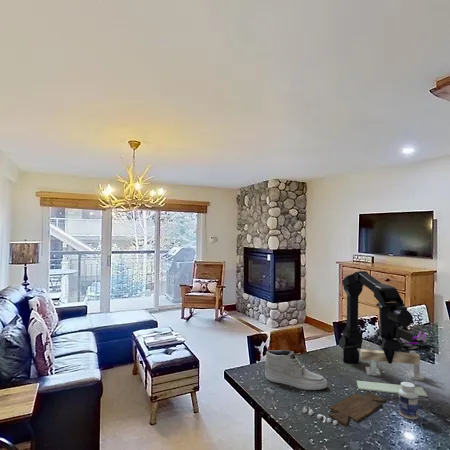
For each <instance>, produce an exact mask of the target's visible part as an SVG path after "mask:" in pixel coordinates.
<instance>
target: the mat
mask: <svg viewBox="0 0 450 450" xmlns="http://www.w3.org/2000/svg"><path fill="white" fill-rule="evenodd" d="M356 384H357V389H358V390H359V391H361V390H362V391H371V392H379V393H387V394H396V395H397V394H398V395H399V390H400V389H402V388H401V384H393V383H385V382H374V381H365V380H356ZM415 392H416V393H417V395H418V397H422V396H423V397H424V398H425V397H426V398H428V394H427V392H426V391H425V390H424V389H423V387H421V386H415Z"/></svg>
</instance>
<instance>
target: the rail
mask: <svg viewBox="0 0 450 450" xmlns="http://www.w3.org/2000/svg"><path fill="white" fill-rule="evenodd" d="M359 350H360V351H359V355H360V359H361V360H362V361H363V360H364V361H369V360H374V361H376V362H384V363H385V362H386V363H388V361H387V358H386V356H385V353H384V351H383V350H379V349H378V350H377V349H374V350H369V349H366V348H365V349H364V348H359ZM392 363H399V364H407V365H408V364H409V365H410V364H419V366H420V365H421V356H420V354H419V353H417V352H416V353H410V352H409V353H404V352H400V351H395V353H394V357H393V361H392Z"/></svg>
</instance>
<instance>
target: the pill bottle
mask: <svg viewBox="0 0 450 450" xmlns="http://www.w3.org/2000/svg"><path fill="white" fill-rule="evenodd" d="M400 385H401V388H402V389H400V390H399V394H398V410H399V411H398V412H399V414H400V415H401V417H402V418H405V419H410V420H417V419H418V418H419V396H418V395H417V393H416V392H415V387H416V385H415V384H414V383H412V382H409V381H401V382H400Z"/></svg>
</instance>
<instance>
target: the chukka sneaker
mask: <svg viewBox="0 0 450 450" xmlns="http://www.w3.org/2000/svg"><path fill="white" fill-rule="evenodd" d="M265 355H266V356H265V362H264V363H265V367H264V369H265V370H264V376H265V378H266V380H268V381H269V382H273V383H279V384H282V385H283V384H284V385H287V386H291V387H294V388H295V389H296V388H297V389H301V390H308V391H309V390H310V391H311V390H312V391H313V390H315V391H316V390H323V389H326V388H327V387H328V382H327V381H328V380H327V379H326V378H324V376H323V375H321V374H319V373H316V372H313V371H310V370H309V369H307V368H306V367H305V365H303V364H302V362H301V361H299V359H298V358H297V356H296V354H295V352H294V351H293V350H292V351H291V350H288V349H280V350H279V349H278V350H274V349H273V350H272V349H269V350H268V349H267V351H265Z"/></svg>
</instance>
